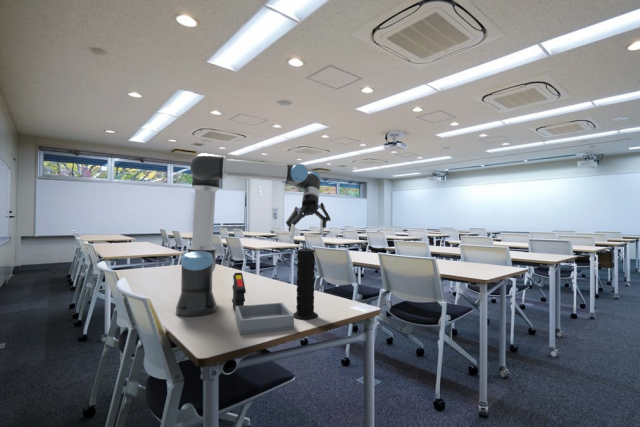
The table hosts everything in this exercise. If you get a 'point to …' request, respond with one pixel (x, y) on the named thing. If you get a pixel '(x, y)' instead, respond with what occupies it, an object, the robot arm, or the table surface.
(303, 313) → the handle grip
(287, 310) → the tray
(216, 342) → the table surface
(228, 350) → the table surface
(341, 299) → the table surface
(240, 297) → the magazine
